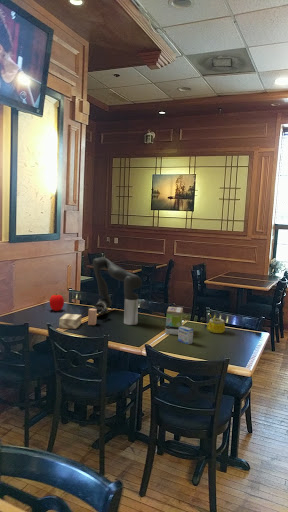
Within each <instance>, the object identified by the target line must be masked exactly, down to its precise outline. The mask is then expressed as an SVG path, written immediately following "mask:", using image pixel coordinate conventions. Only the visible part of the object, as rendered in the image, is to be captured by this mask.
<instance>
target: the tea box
mask: <svg viewBox="0 0 288 512" xmlns="http://www.w3.org/2000/svg"><path fill="white" fill-rule="evenodd" d="M183 314H184V308H183V307H181V306H180V307H178V306H168V308H167V310H166V316H165V317H166V320H165V330H164V331H165V334H166V335H178V332H179V327H181V326H183V317H184V316H183Z"/></svg>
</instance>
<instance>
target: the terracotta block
mask: <svg viewBox="0 0 288 512" xmlns="http://www.w3.org/2000/svg"><path fill="white" fill-rule="evenodd" d="M87 314H88V315H87V316H88V318H87V320H88V322H87V326H96V324H97V316H98V314H97V309H89V311H88V312H87Z"/></svg>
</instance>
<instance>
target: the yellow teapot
mask: <svg viewBox="0 0 288 512" xmlns="http://www.w3.org/2000/svg"><path fill="white" fill-rule="evenodd" d="M209 316H210V319H209V322H208V323H207V326H206V330H207V331H208V332H211V333H213V334H223V333H225V330H226V324H225V320H224V319H222V318H217V316H216V315H214V316H213V318H212V315H211V314H209Z"/></svg>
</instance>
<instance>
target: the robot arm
mask: <svg viewBox="0 0 288 512" xmlns="http://www.w3.org/2000/svg"><path fill="white" fill-rule="evenodd" d="M92 267H93V271H94V275H95V276H94V277H95V279H96V281H97V288H98V289H97V290H98V295H99V296H101V297H104V298H99V299H98V300H97V303H96V304H95V305H94V306H93V307H91V306H88V307H87V309H86V313H88V311H89V309H97V315H103V314H107V313H108V312H109V311H108V308H110V307H111V306H112V299H111V297H110V295H109V290H108V284H107V282H106V281H105V279H104V278H103V276H102V275H101V271H102V270H107V271H108V275H109V276H110V277H111V278H113V279H115V280H117V281H121V282H123V294H124V308H123V310H124V311H123V324H124V325H128V326H133V325H134V326H135V325H138V321H139V320H138V319H139V318H138V317H139V309H138V308H139V294H137V293H134V290H136V289H139V288H140V287H142V285H143V280H142V279H141V277H140V276H139V275H137V274H134V273H132V272H129V271H128V270H126V269H124V268H123V267H121V266H119V265H117V264H115V263H114V262H112V261H111V260H110V259H108V258H107V257H104V256H101V257H96V258H93V260H92Z"/></svg>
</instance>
